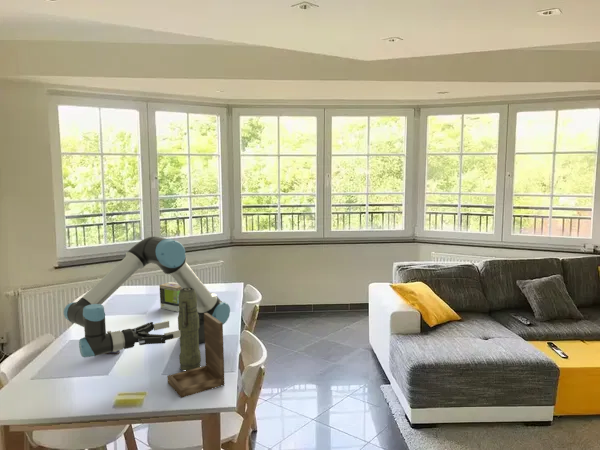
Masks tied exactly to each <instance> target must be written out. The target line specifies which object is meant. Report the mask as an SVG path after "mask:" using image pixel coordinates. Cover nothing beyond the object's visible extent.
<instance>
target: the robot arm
mask: <svg viewBox="0 0 600 450" xmlns="http://www.w3.org/2000/svg"><path fill="white" fill-rule="evenodd" d="M149 264H153V265H157V267H159V269H160V270H161V271H162V272H163V273H164V274H166V275H170V276H171V278H172V279H173V280H174V282H176V283H178V284H179V285H180V287H181V288H182V289H183V288H193V289H194V290H195V292H196V295H197V312H198V315H199V330H198V334H199V344H202V342H203V343H205V332H204V313H208V314H210V315H212V316H213V317H215V318H216V319H218V320H219V321H221V322H222V323H223V325H225V324H226V323H227V321H228V320H229V318H230V316H231V315H230V314H231V308H230V305H229V304H228V303H227V302H225V301H222V300H221V299H220V298H219V297H218V295H217V294H216V293H214V292H210V291H209V290H208V289H209V288H207V287H206V285H205V284H204V283H203V282H202V281H201V279H200V278H199V277H198V275H197V274H196V273H195V272H194V270H193V269H192V268H191V266H190V265H189V264H188V263H187V255H186V249H185V246H184V244H182V243H181V242H180V241H178V240H176V239H172V238H165V237H159V236H148V237H146V238H144V239H141V240H140V241H139V242H137V243H136V244H135V245H134V246H132V247H131V248H130V249H129V250H128V251H126V253H125V257H124V258H122V260H120V262H118V264H116V265H115V266H114V267H113V268H112V269H111V270H110V271H109V272H107V274H105V275H104V276H103V277H102V278H101V279H100V280H99V281H98V282H97V283H96V284H95V285H93V286H92V287H91V288H90V289H89V290H88V291H87V292H85V294H84V295H83V296H82V297H81V298H79V300H77V301H75V302H74V301H72V302H69V303H68V304H66V306H65V308H64V309H63V316H64V318H65V319H66V320H67V321H69V322H71V323H72V324H75V325H78V326H79V327H83V329H84V330H83V331H84V336H83V337H81V338H80V339H79V340H78V347H79V353H80V355H81V357H82V358H84V359H85V358H90V357H96V356H100V355H106V354H105V353H109V352H117V351H118V350H120V351H122V350H127V349H131V348H134V346H135V344H136V343H139V344H138V345H139V346H144V345H158V344H159V345H160V344H165V343H166V341H169V340H173V339H178V338H179V339H180V337H181V334H180V330H179V329H178V330H174V331H170V332H166V333H165V332H164V333H163V334H153V333H151V331H153V330H154V331H158V330H163V329H168V328H170V321H169V320H167V321H162V322H161V321H160V322H157V323H154V322H153V321H150V322H147V323H144V324H142V325H139V326H136V327H134V328H126V329H122V330H115V331H111V332H110V333H107V327H106V312H105V306H104V305H103V304H104V303H105V302H106V301H107V300H108V299H109V298H110V297H111V296H112V295H113V294H114V293H115V292H116V291H117V290H118V289H119V288H120V287H122V285H124V284H125V282H127V281H128V280H129V279H130V278H131V277H132V275H134V274H135V273H136V272H137V271H138V270H142V269H144V268H145V267H146V265H149Z"/></svg>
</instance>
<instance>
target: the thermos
mask: <svg viewBox="0 0 600 450" xmlns="http://www.w3.org/2000/svg"><path fill="white" fill-rule="evenodd" d="M178 299H179V312H178V316H177V326H178V327H177V329H178V330H180V334H181V337H179V349H180V351H179V352H180V353H179V357H178V359H179V364H180V365H179V369H180V368H181V369H182V370H186V371H187V370H191V369H195V368H199V367H200V366H201V367H202V365H201V361H202V357H201V355H202V354H201V350H200V343H199V334H198V330H199V315H198V312H197V295H196V292H195V290H194V289H193V288H183V289H181V290H180V292H179V296H178ZM181 369H180V370H181ZM182 370H181V371H182Z"/></svg>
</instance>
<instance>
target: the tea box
mask: <svg viewBox="0 0 600 450" xmlns="http://www.w3.org/2000/svg"><path fill="white" fill-rule="evenodd" d="M181 289H182V288H181V287H180V285H179V284H178V283H177V282H176V281H169V282H165V283H162V284H159V303H160V306H159V307H160V309H163V310H168V311H172V312H177V313H179V299H178V296H179V292H180V290H181Z"/></svg>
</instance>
